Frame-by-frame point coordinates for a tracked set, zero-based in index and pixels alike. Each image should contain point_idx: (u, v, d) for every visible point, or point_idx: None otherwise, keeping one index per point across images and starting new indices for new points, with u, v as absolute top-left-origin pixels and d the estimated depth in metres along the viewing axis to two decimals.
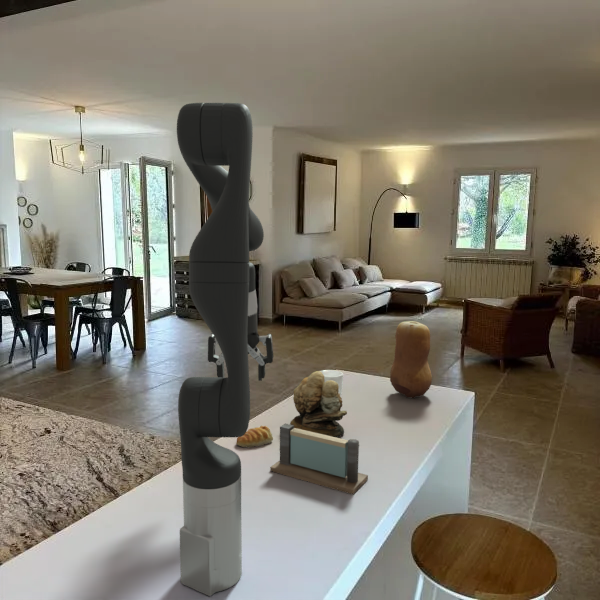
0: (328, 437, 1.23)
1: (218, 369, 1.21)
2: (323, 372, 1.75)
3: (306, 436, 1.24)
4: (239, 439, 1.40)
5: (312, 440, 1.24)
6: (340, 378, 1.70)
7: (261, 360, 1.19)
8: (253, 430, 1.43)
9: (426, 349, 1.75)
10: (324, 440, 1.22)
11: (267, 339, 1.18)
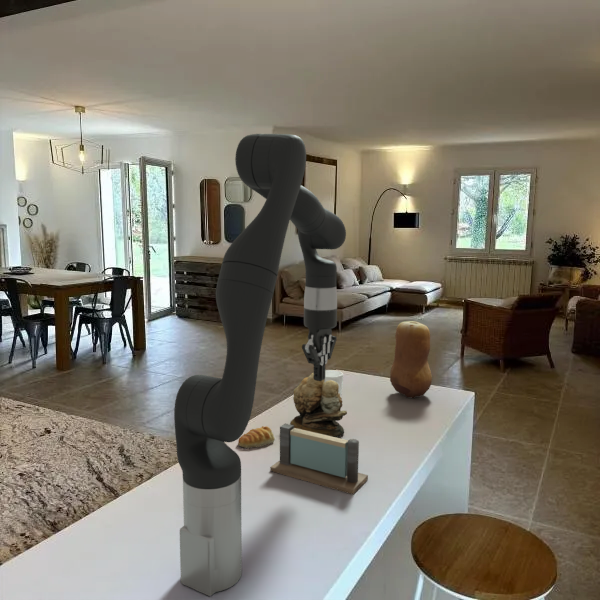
0: (328, 437, 1.23)
1: (319, 370, 1.25)
2: None
3: (306, 436, 1.24)
4: (241, 440, 1.40)
5: (312, 440, 1.24)
6: (340, 378, 1.70)
7: (326, 358, 1.26)
8: (255, 431, 1.42)
9: (426, 349, 1.75)
10: (324, 440, 1.22)
11: (335, 337, 1.30)
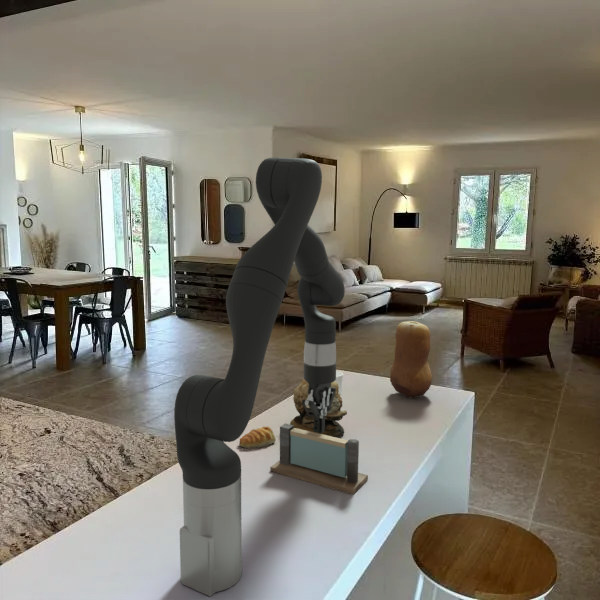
0: (328, 437, 1.23)
1: (319, 423, 1.27)
2: None
3: (306, 436, 1.24)
4: (243, 441, 1.39)
5: (312, 440, 1.24)
6: (340, 378, 1.70)
7: (325, 411, 1.28)
8: (256, 431, 1.42)
9: (426, 349, 1.75)
10: (324, 440, 1.22)
11: (335, 389, 1.32)
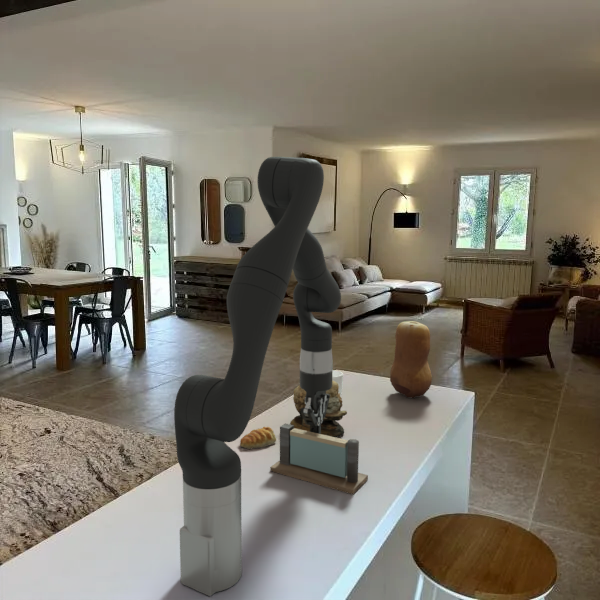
0: (328, 437, 1.23)
1: (316, 431, 1.26)
2: None
3: (306, 436, 1.24)
4: (243, 441, 1.39)
5: (312, 440, 1.24)
6: (340, 378, 1.70)
7: (321, 418, 1.27)
8: (256, 431, 1.42)
9: (426, 349, 1.75)
10: (324, 440, 1.22)
11: (329, 395, 1.31)
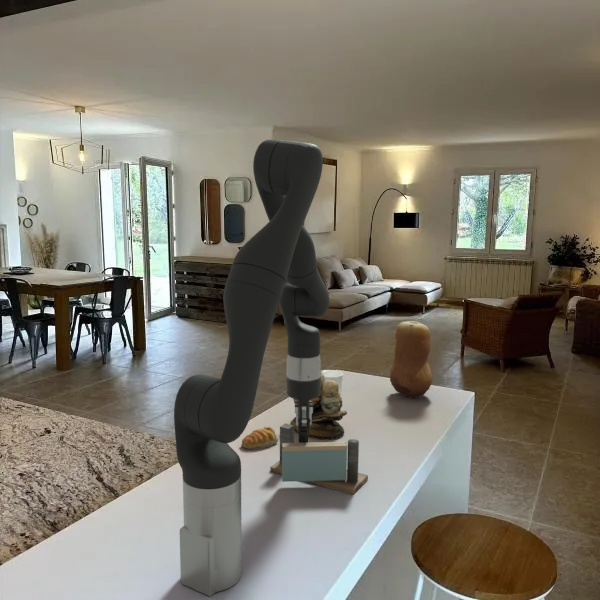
0: (325, 443, 1.19)
1: (306, 439, 1.21)
2: (323, 372, 1.75)
3: (302, 448, 1.18)
4: (245, 441, 1.39)
5: (309, 451, 1.18)
6: (340, 378, 1.70)
7: None
8: (258, 431, 1.42)
9: (426, 349, 1.75)
10: (323, 447, 1.18)
11: None
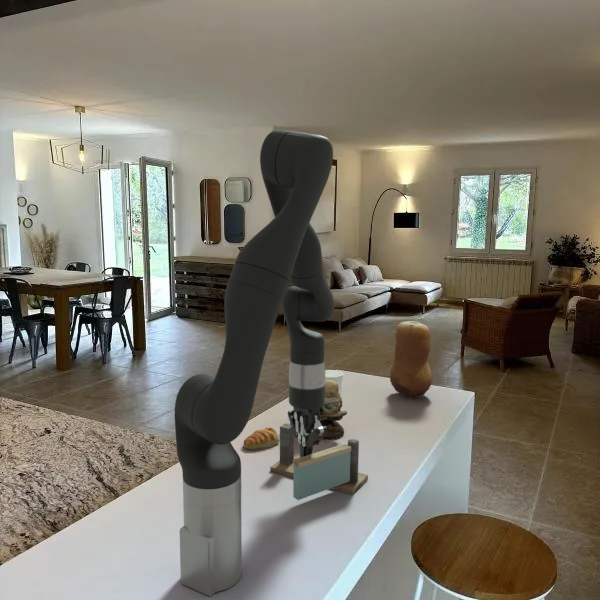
0: (331, 450, 1.16)
1: None
2: None
3: (315, 460, 1.12)
4: (247, 442, 1.38)
5: (321, 461, 1.13)
6: (340, 378, 1.70)
7: None
8: (259, 432, 1.41)
9: (426, 349, 1.75)
10: (333, 454, 1.15)
11: None
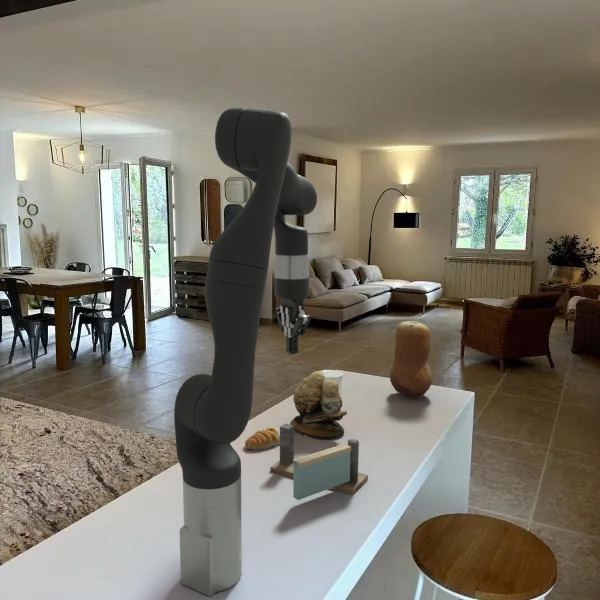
0: (331, 450, 1.16)
1: None
2: (323, 372, 1.75)
3: (315, 460, 1.12)
4: (249, 443, 1.38)
5: (321, 461, 1.13)
6: (340, 378, 1.70)
7: None
8: (261, 432, 1.41)
9: (426, 349, 1.75)
10: (333, 454, 1.15)
11: None
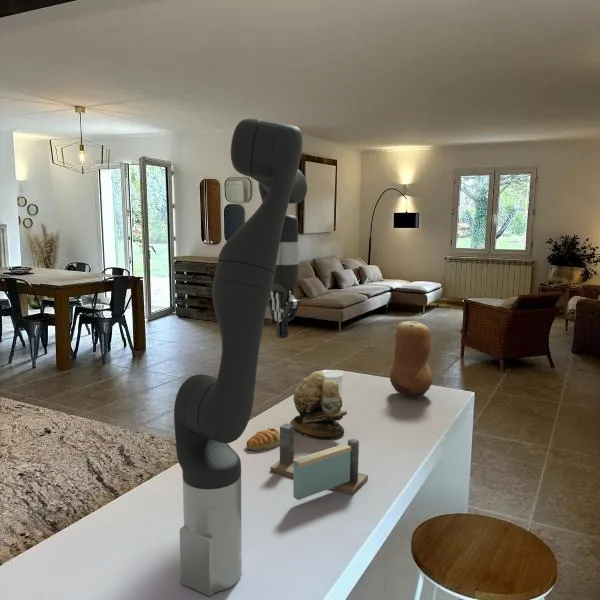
0: (331, 450, 1.16)
1: None
2: (323, 372, 1.75)
3: (315, 460, 1.12)
4: (250, 443, 1.38)
5: (321, 461, 1.13)
6: (340, 378, 1.70)
7: None
8: (262, 433, 1.41)
9: (426, 349, 1.75)
10: (333, 454, 1.15)
11: None
